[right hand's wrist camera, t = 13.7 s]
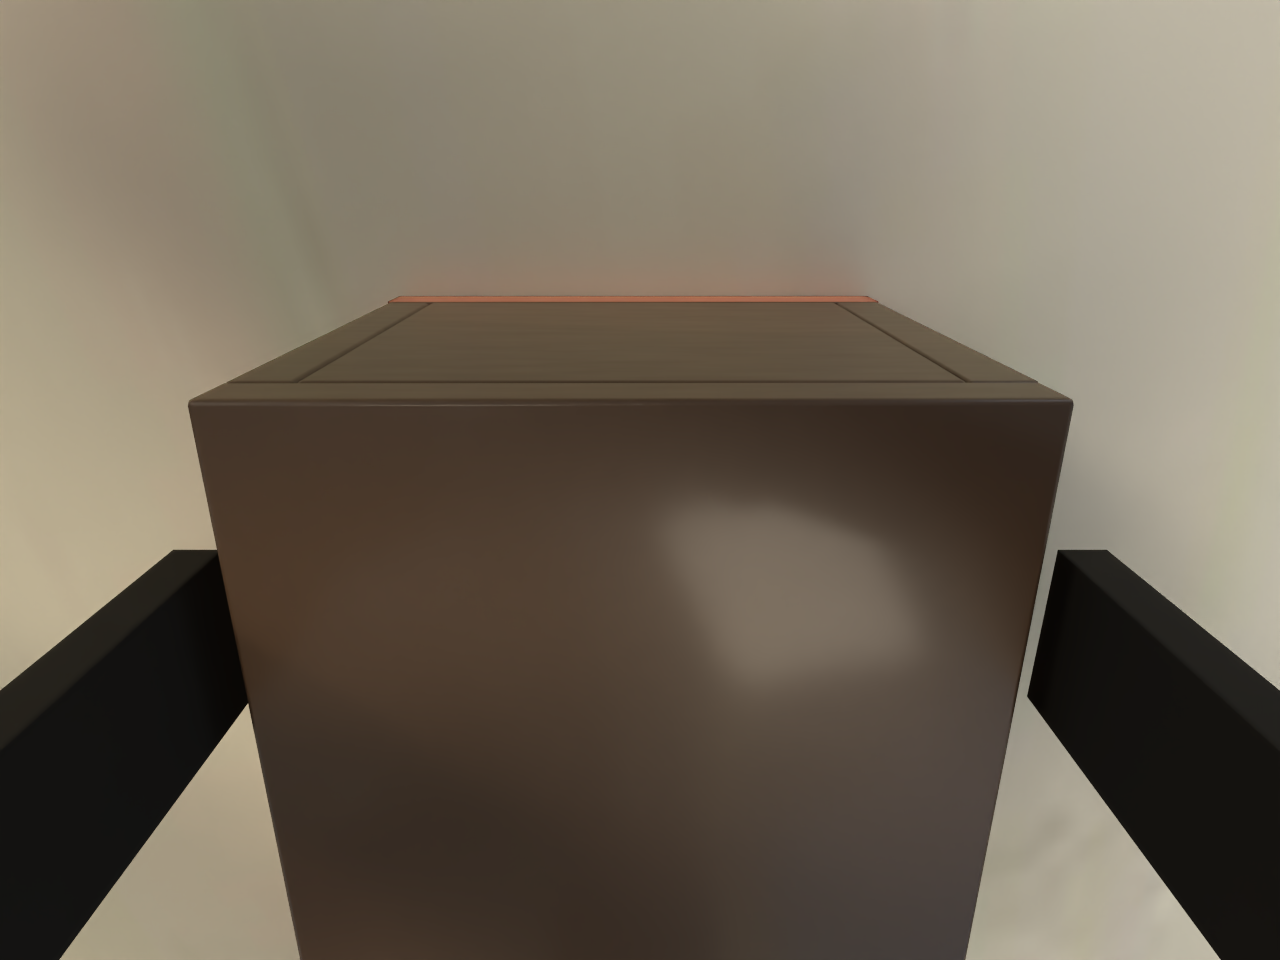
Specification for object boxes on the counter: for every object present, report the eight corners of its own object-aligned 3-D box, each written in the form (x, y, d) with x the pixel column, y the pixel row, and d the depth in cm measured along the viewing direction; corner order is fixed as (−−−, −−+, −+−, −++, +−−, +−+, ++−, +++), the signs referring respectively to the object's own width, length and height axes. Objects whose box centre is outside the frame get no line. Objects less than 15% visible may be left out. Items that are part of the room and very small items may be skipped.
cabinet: (810, 881, 26) (907, 1267, 17) (459, 882, 26) (361, 1271, 16) (867, 296, 19) (1078, 398, 10) (398, 296, 19) (182, 399, 10)
